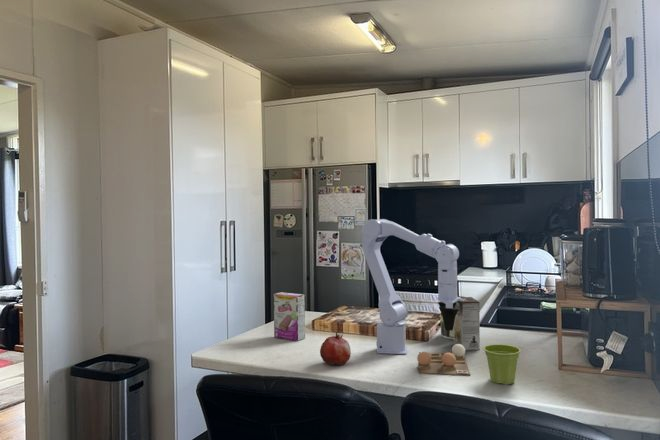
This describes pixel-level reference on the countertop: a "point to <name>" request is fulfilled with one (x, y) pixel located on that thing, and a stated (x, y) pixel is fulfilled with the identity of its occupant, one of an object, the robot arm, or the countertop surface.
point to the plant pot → (502, 362)
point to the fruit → (335, 350)
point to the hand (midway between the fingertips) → (448, 327)
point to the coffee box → (467, 323)
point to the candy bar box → (289, 316)
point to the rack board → (439, 368)
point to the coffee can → (446, 333)
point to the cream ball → (458, 350)
